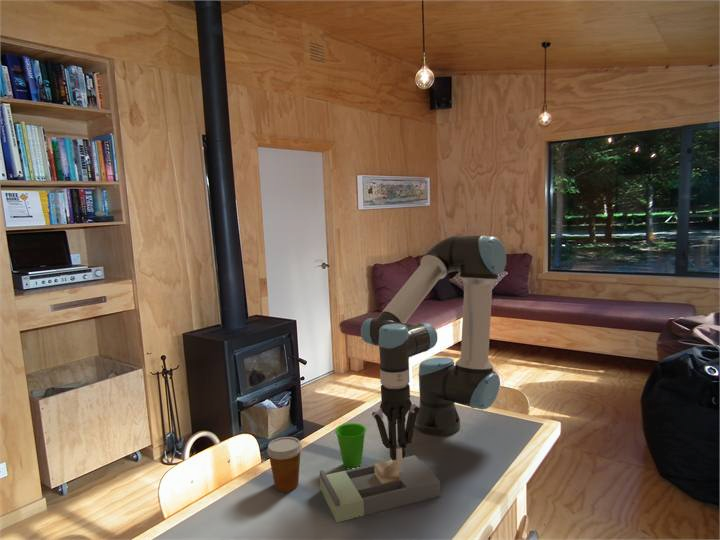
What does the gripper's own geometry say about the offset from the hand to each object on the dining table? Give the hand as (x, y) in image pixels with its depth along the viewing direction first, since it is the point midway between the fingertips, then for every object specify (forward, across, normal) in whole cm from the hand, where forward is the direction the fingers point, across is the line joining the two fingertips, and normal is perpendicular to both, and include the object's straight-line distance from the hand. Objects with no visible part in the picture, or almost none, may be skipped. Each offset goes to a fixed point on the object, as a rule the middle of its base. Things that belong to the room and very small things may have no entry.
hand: (398, 469), depth 132 cm
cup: (+6, -7, +17) cm, 19 cm away
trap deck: (+5, -6, 0) cm, 8 cm away
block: (+1, -3, 0) cm, 3 cm away
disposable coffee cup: (+6, -28, +14) cm, 31 cm away
